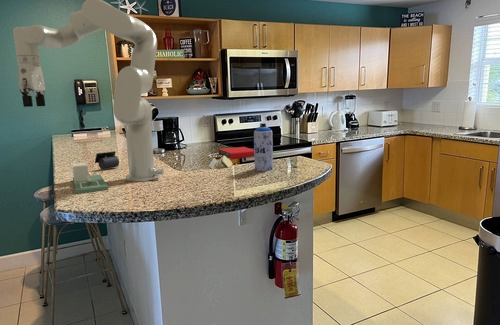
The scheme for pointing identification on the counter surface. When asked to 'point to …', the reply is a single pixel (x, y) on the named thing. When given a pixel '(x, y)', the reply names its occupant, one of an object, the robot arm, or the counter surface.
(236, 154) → the red device housing
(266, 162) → the aerosol can
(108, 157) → the speaker
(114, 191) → the counter surface
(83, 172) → the plug cap
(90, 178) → the grey peg pair
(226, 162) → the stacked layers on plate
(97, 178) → the header board
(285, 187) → the counter surface
